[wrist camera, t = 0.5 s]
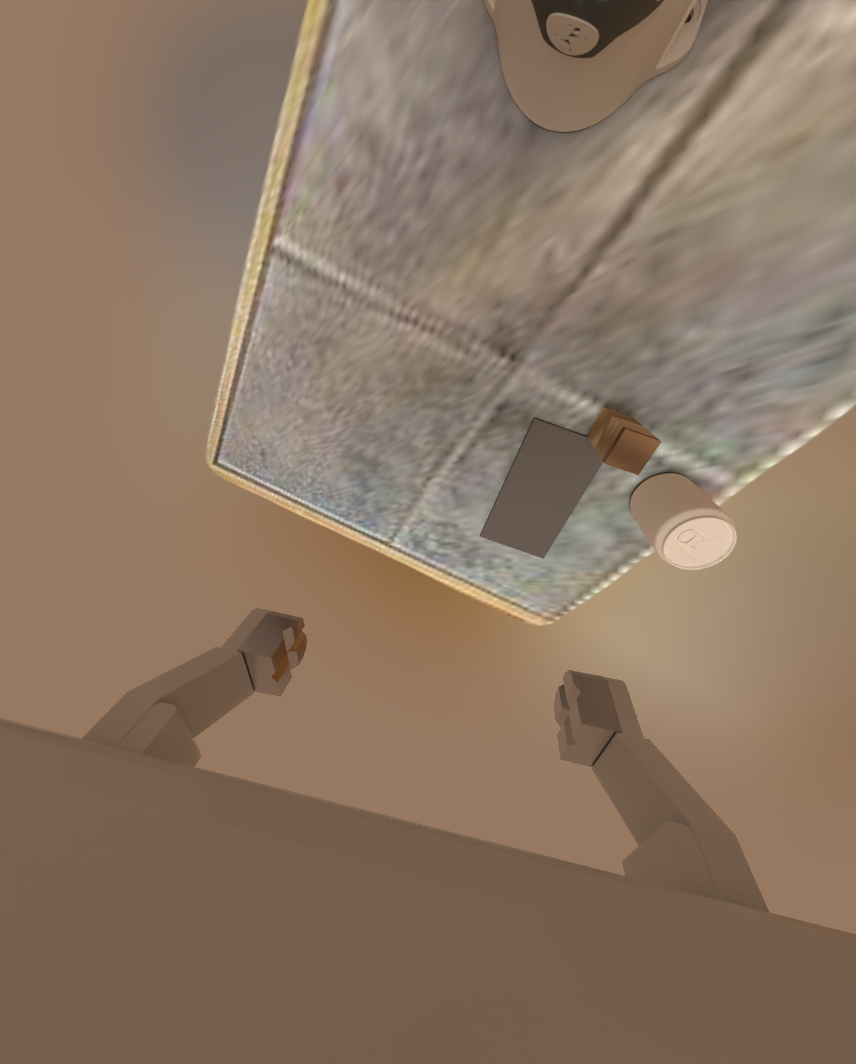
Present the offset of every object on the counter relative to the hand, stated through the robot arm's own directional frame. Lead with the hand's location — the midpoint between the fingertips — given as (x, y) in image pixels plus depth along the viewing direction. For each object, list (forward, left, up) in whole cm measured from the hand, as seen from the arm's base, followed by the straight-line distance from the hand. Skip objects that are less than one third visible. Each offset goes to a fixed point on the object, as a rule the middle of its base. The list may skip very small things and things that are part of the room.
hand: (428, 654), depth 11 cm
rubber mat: (+11, +13, -43) cm, 46 cm away
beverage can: (+6, +29, -43) cm, 52 cm away
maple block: (-1, +17, -43) cm, 46 cm away
